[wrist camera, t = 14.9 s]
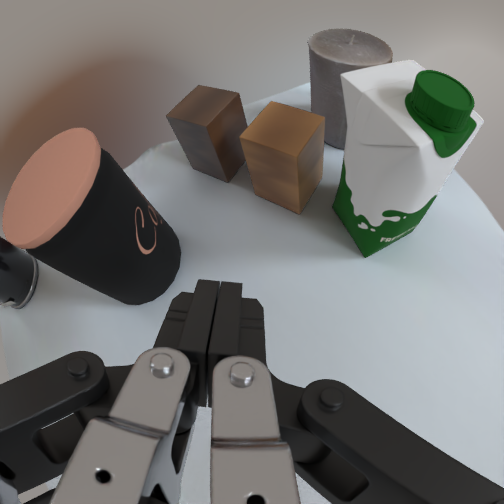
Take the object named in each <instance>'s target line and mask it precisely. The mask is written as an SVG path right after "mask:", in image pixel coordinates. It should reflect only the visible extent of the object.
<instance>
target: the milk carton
mask: <svg viewBox="0 0 504 504" xmlns="http://www.w3.org/2000/svg"><path fill="white" fill-rule="evenodd" d="M340 76H341V82H342V88H343V95H344V102H345V109H346V117H347V135H346V143H345V151H344V158H343V165H342V172H341V179H340V184H339V187H338V190H337V193H336V196H335V200H334V203H333V206H332V208H333V209H334V211H335V212H336V214H337V215H338V217H339V218H340V220H341V221H342V223H343V224H344V226H345V227H346V229H347V230H348V232H349V233H350V235H351V237H352V238H353V240H354V241H355V243H356V244H357V246H358V248H359V249H360V251H361V252H362V254H363V256H364V257H365V258H366V257H368V256H370V255H372V254H374V253H376V252H377V251H379V250H381V249H383V248H384V247H386V246H388V245H390V244H392V243H393V242H395V241H397V240H399V239H400V238H402V237H404V236H406V235H407V234H409V233H411V232H412V231H413V230H414V229H415V227H416V226H417V225H418V224H419V222H420V221H421V219H422V218H423V216H424V215H425V213H426V212H427V210H428V209H429V207H430V206H431V204H432V203H433V201H434V200H435V198H436V197H437V195H438V193H439V192H440V190H441V189H442V187H443V185H444V184H445V182H446V180H447V179H448V177H449V175H450V174H451V172H452V170H453V169H454V167H455V165H456V164H457V162H458V161H459V159H460V158H461V156H462V155H463V153H464V152H465V150H466V149H467V147H468V146H469V144H470V143H471V141H472V140H473V138H474V137H475V135H476V133H477V132H478V130H479V129H480V127H481V126H482V124H483V119H482V118H481V117H480V116H479V115H478V114H477V113H476V112H475V111H474V110H473V107H474V99H473V96H472V95H471V93H470V92H469V91H468V89H467V88H466V87H464V85H462V84H461V83H460V82H459V81H457V80H456V79H454V78H452V77H450V76H449V75H446V74H444V73H441V72H438V71H433V70H426V69H424V68H423V67H422V66H420V65H419V64H417V63H416V62H415V61H413V60H405V61H399V62H393V63H388V64H382V65H377V66H373V67H368V68H363V69H359V70H355V71H350V72H346V73H342V74H340Z"/></svg>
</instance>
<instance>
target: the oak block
mask: <svg viewBox="0 0 504 504" xmlns="http://www.w3.org/2000/svg"><path fill="white" fill-rule="evenodd" d="M324 129H325V117H323V116H320V115H317V114H314V113H311V112H308V111H304V110H301V109H298V108H295V107H291V106H288V105H284V104H281V103H277V102H273V101H271V102H270V103H269V104H268V105H267V106H266V107H265V108H264V109H263V111H262V112H261V113H260V114H259V115H258V116H257V117H256V118H255V119H254V121H253V122H252V123H251V124H250V125H249V126H248V127H247V129H246V130H245V131H244V132H243V133H242V134H241V136H240V137H239V138H240V141H241V145H242V148H243V152H244V155H245V159H246V163H247V166H248V170H249V173H250V177H251V181H252V184H253V188H254V191H255V195H257V196H260V197H262V198H264V199H266V200H269V201H271V202H273V203H275V204H278V205H280V206H282V207H284V208H286V209H289V210H291V211H293V212H295V213H297V214H300V213H301V212H302V210H303V208H304V207H305V205H306V203H307V202H308V200H309V199H310V197H311V195H312V194H313V192H314V190H315V189H316V187H317V185H318V184H319V182H320V180H321V179H322V171H323V153H324Z"/></svg>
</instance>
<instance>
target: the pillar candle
mask: <svg viewBox="0 0 504 504" xmlns="http://www.w3.org/2000/svg"><path fill="white" fill-rule="evenodd" d="M307 43H308V45H309V55H310V78H311V79H310V80H311V111H312V113H314V114H317V115H320V116H323V117H325V129H324V141H325V142H326V143H328V144H329V145H331V146H333V147H336V148H340V149H345V143H346V135H347V117H346V109H345V102H344V95H343V88H342V82H341V76H340V74H342V73H346V72H350V71H355V70H359V69H363V68H368V67H373V66H377V65H382V64H388V63H392V56H393V53H392V50H391V48H390V47H389V46H388V45H387V44H386V43H385V42H384V41H382V40H380V39H379V38H377V37H375V36H373V35H371V34H368V33H365V32H361V31H357V30H351V29H329V30H324V31H321V32H318V33H316V34H314V35H313V36H311V37H309V40H308V42H307Z"/></svg>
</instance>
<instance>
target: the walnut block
mask: <svg viewBox="0 0 504 504" xmlns="http://www.w3.org/2000/svg"><path fill="white" fill-rule="evenodd" d="M166 117H167V119H168V121H169V123H170V125H171V127H172V129H173V131H174V133H175V135H176V137H177V139H178V141H179V142H180V144H181V146H182V148H183V150H184V152H185V154H186V156H187V158H188V160H189V162H190V164H191V166H192V167H193V169H196V170H198V171H201V172H203V173H206V174H208V175H210V176H213V177H215V178H218V179H220V180H222V181H225V182H227V183H228V182H229V181H230V180H231V179H232V177H233V176H234V175H235V173H236V172H237V171H238V169H239V168H240V167H241V166H242V164H243V163H244V162H245V160H246V159H245V155H244V152H243V148H242V145H241V141H240V138H239V137H240V136H241V134H242V133H243V132H244V131H245V130H246V129H247V123H246V119H245V115H244V111H243V107H242V103H241V99H240V95H239V93H237V92H232V91H227V90H222V89H217V88H212V87H207V86H201V85H198V86H197V87H196V88H195V89H194V90H193V91H191V92H190V93H189V94H188V95H187V96H186V97H185V98H184V99H183V100H182V101H181V102H180V103H179V104H178V105H176V106H175V107H174V108H173V109H172V110H171V111H170V112H169V113H168V114H167V115H166Z"/></svg>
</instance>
